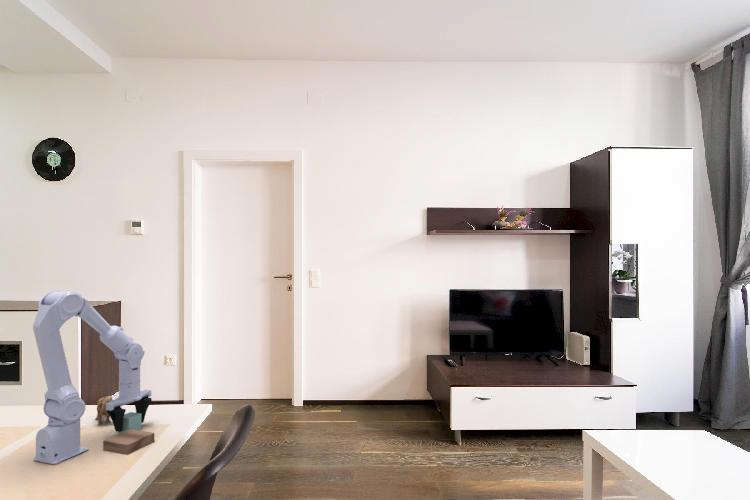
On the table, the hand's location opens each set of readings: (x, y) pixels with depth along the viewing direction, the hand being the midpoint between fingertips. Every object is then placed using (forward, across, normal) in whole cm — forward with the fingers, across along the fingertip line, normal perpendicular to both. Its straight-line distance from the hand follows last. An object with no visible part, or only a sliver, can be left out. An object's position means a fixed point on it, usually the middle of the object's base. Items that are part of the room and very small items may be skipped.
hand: (129, 426), depth 137 cm
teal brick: (+2, 0, 0) cm, 2 cm away
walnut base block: (+1, -8, -9) cm, 12 cm away
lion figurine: (+2, +4, +16) cm, 16 cm away
